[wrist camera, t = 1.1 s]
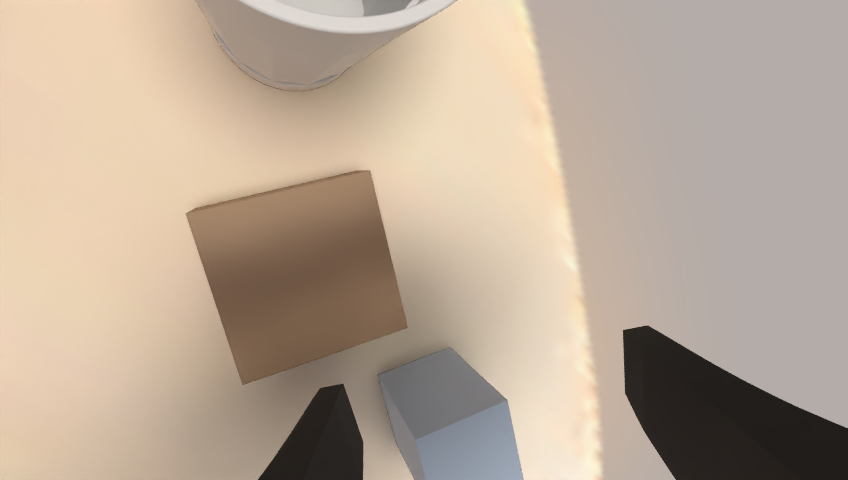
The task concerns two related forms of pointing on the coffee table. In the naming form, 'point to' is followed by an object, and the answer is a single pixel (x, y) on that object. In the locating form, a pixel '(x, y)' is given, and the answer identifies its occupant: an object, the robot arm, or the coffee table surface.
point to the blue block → (450, 420)
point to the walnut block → (299, 272)
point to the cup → (309, 35)
